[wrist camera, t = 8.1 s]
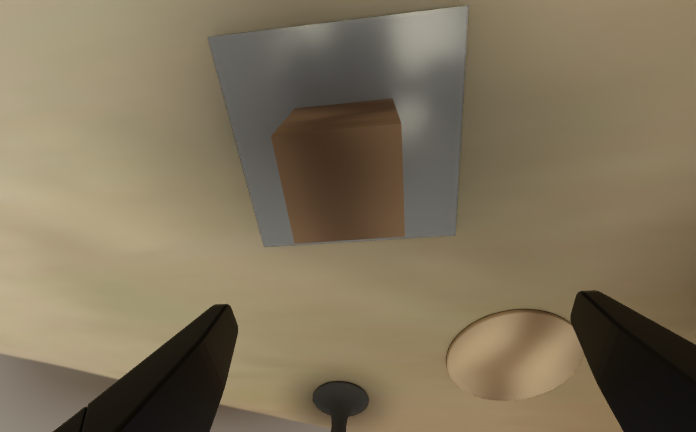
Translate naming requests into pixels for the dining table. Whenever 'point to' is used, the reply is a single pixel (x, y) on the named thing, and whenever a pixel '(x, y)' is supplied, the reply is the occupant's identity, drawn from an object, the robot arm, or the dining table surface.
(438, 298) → the dining table surface
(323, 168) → the walnut block
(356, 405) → the sundae
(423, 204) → the slate coaster
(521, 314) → the cork coaster
